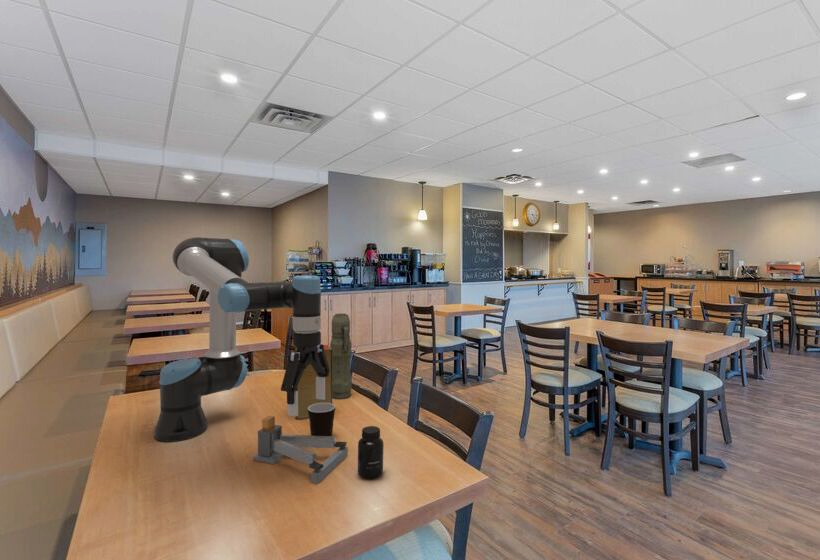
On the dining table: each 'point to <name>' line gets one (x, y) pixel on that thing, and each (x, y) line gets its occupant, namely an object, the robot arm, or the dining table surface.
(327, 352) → the food packaging
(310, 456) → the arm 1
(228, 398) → the dining table surface
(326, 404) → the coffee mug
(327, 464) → the stand
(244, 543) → the dining table surface
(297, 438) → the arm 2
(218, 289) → the robot arm
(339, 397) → the thermos
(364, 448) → the supplement bottle
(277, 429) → the collar
